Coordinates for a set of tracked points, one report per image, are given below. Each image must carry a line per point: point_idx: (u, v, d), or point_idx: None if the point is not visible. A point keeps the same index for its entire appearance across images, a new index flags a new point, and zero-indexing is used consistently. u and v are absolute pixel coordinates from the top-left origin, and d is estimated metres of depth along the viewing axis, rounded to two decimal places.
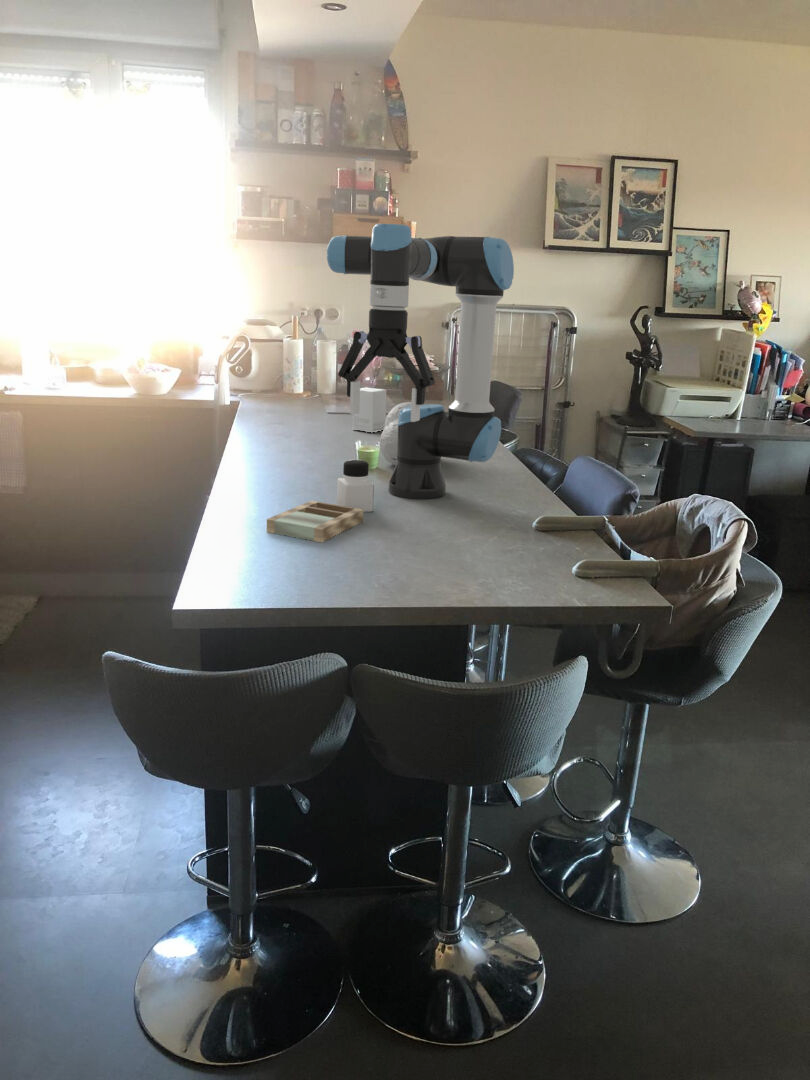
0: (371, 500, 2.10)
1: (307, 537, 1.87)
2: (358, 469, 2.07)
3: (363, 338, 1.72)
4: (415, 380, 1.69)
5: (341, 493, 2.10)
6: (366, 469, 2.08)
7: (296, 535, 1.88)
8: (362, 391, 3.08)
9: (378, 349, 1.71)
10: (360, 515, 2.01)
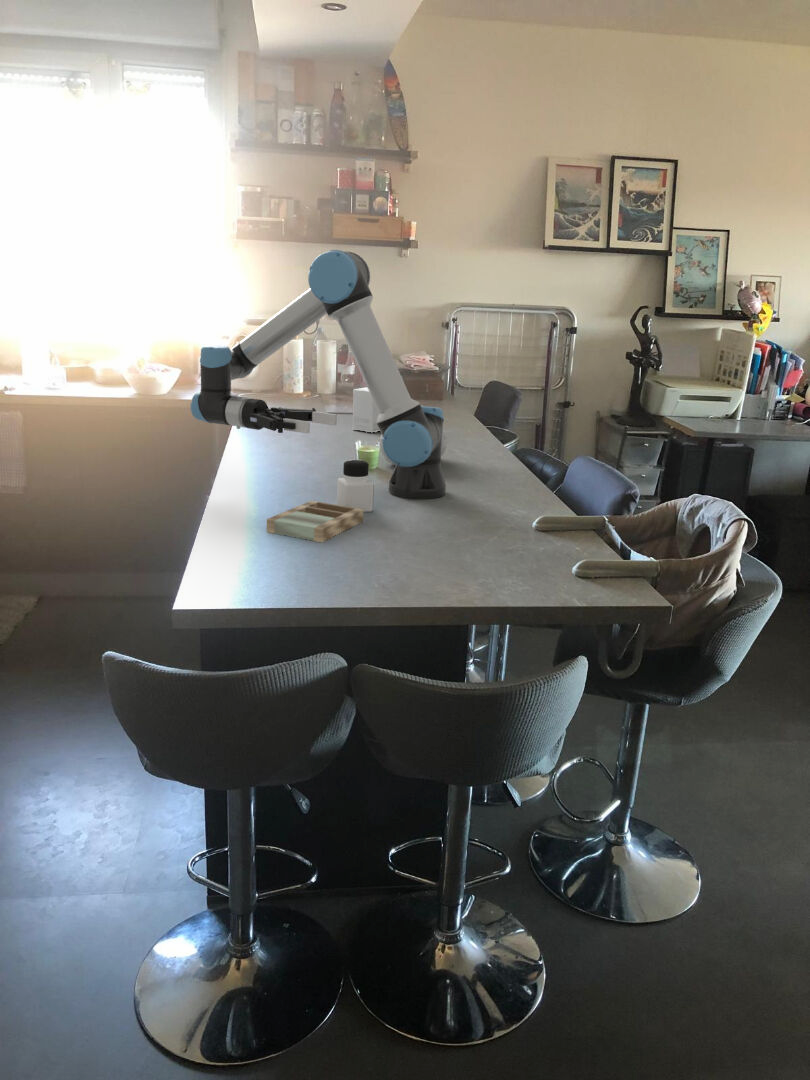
0: (371, 500, 2.10)
1: (307, 537, 1.87)
2: (358, 469, 2.07)
3: None
4: None
5: (341, 492, 2.10)
6: (366, 469, 2.08)
7: (296, 535, 1.88)
8: (362, 391, 3.08)
9: None
10: (360, 515, 2.01)
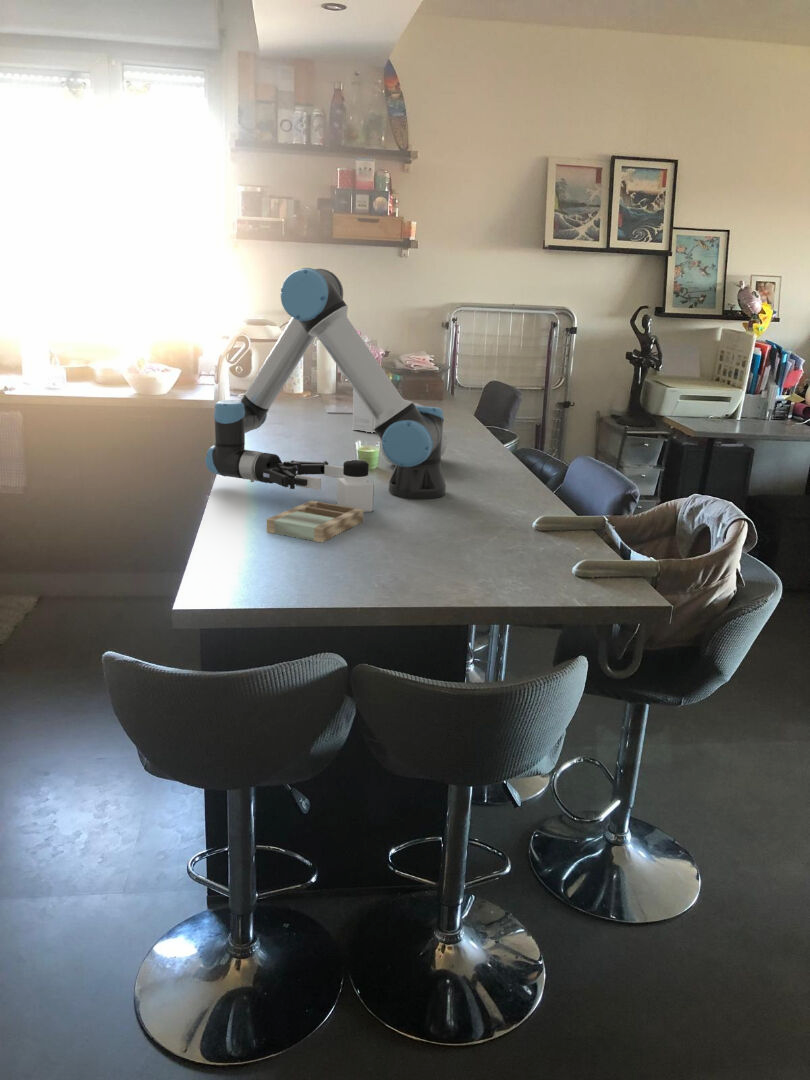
0: (371, 500, 2.10)
1: (307, 537, 1.87)
2: (358, 469, 2.07)
3: None
4: None
5: (341, 492, 2.10)
6: (366, 469, 2.08)
7: (296, 535, 1.88)
8: None
9: None
10: (360, 515, 2.01)
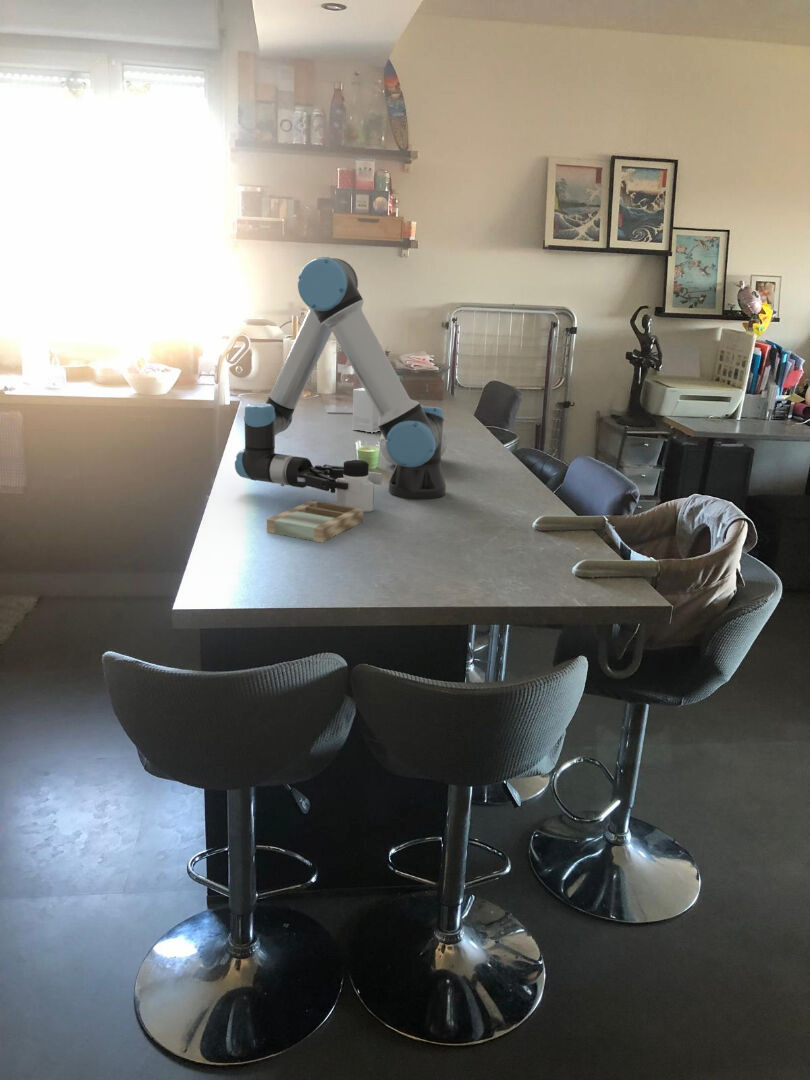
0: (371, 500, 2.10)
1: (307, 537, 1.87)
2: (358, 469, 2.07)
3: None
4: None
5: (341, 492, 2.10)
6: (366, 469, 2.08)
7: (296, 535, 1.88)
8: (362, 391, 3.08)
9: None
10: (360, 515, 2.01)
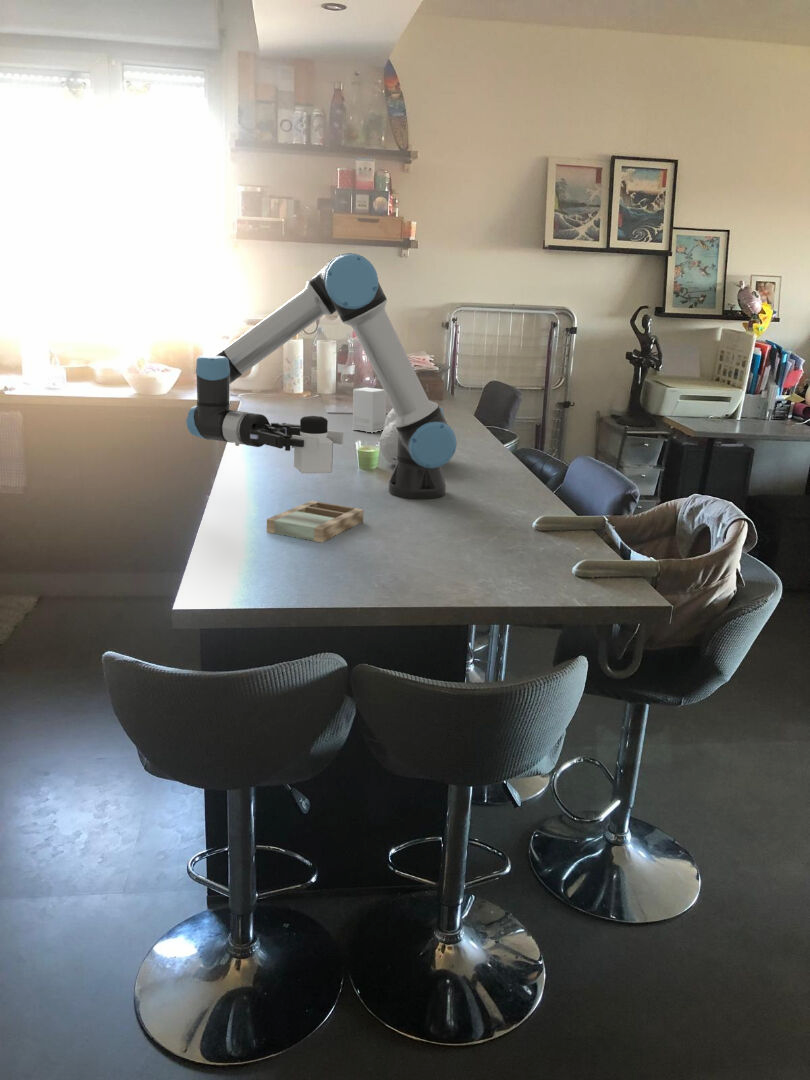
0: (330, 460, 1.93)
1: (307, 537, 1.87)
2: (315, 425, 1.90)
3: None
4: None
5: (298, 451, 1.93)
6: (324, 425, 1.91)
7: (296, 535, 1.88)
8: (362, 391, 3.08)
9: None
10: (360, 515, 2.01)
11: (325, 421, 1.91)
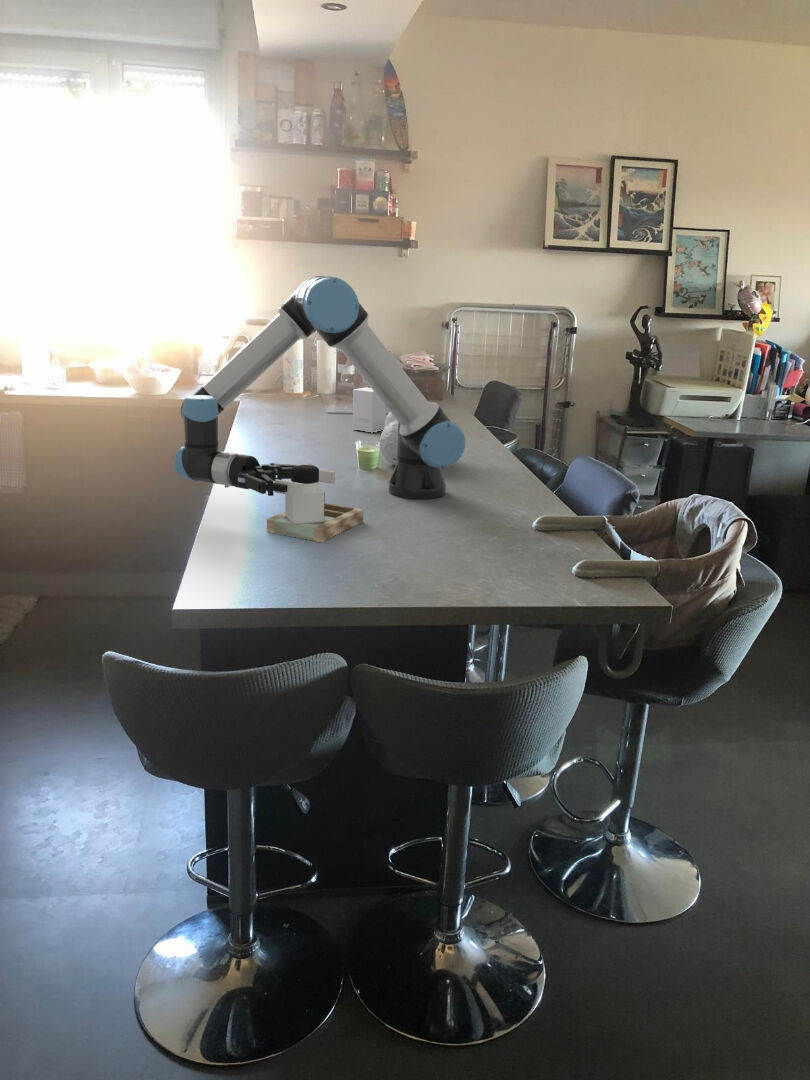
0: (322, 509, 1.89)
1: (307, 537, 1.87)
2: (307, 475, 1.86)
3: None
4: None
5: (289, 501, 1.89)
6: (316, 475, 1.87)
7: (296, 535, 1.88)
8: (362, 391, 3.08)
9: None
10: (360, 515, 2.01)
11: (316, 470, 1.87)
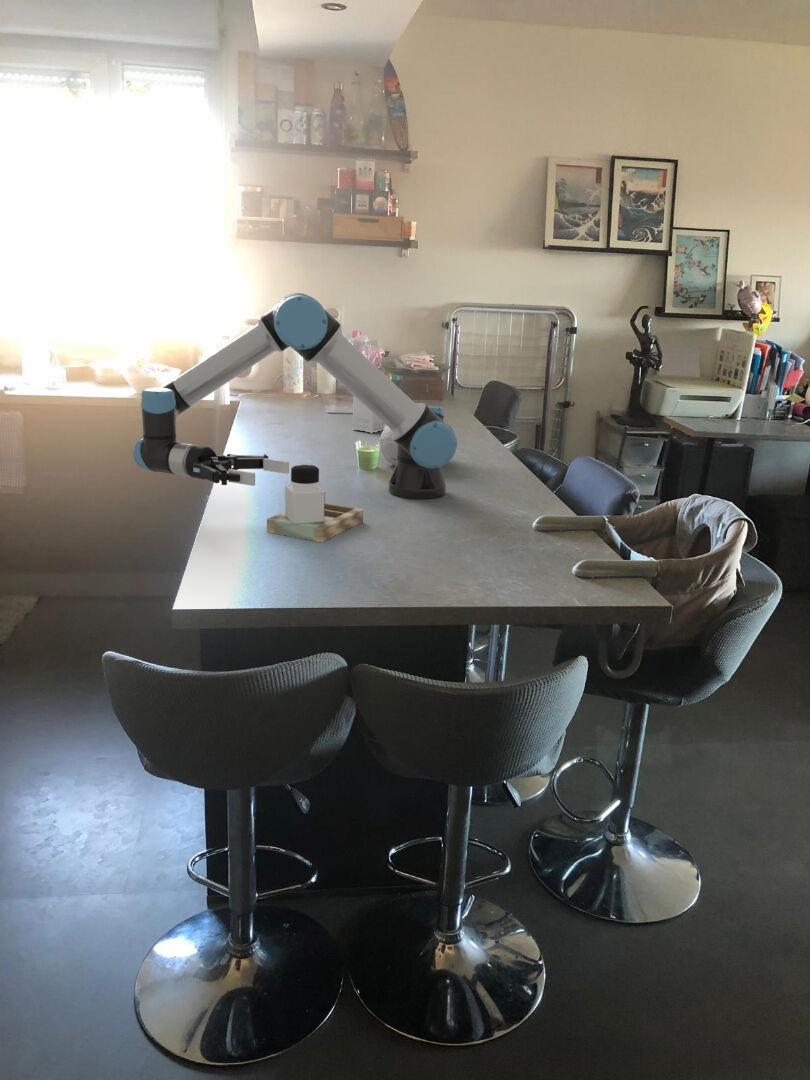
0: (322, 509, 1.89)
1: (307, 537, 1.87)
2: (307, 475, 1.86)
3: None
4: None
5: (289, 501, 1.89)
6: (316, 475, 1.87)
7: (296, 535, 1.88)
8: None
9: None
10: (360, 515, 2.01)
11: (316, 470, 1.87)
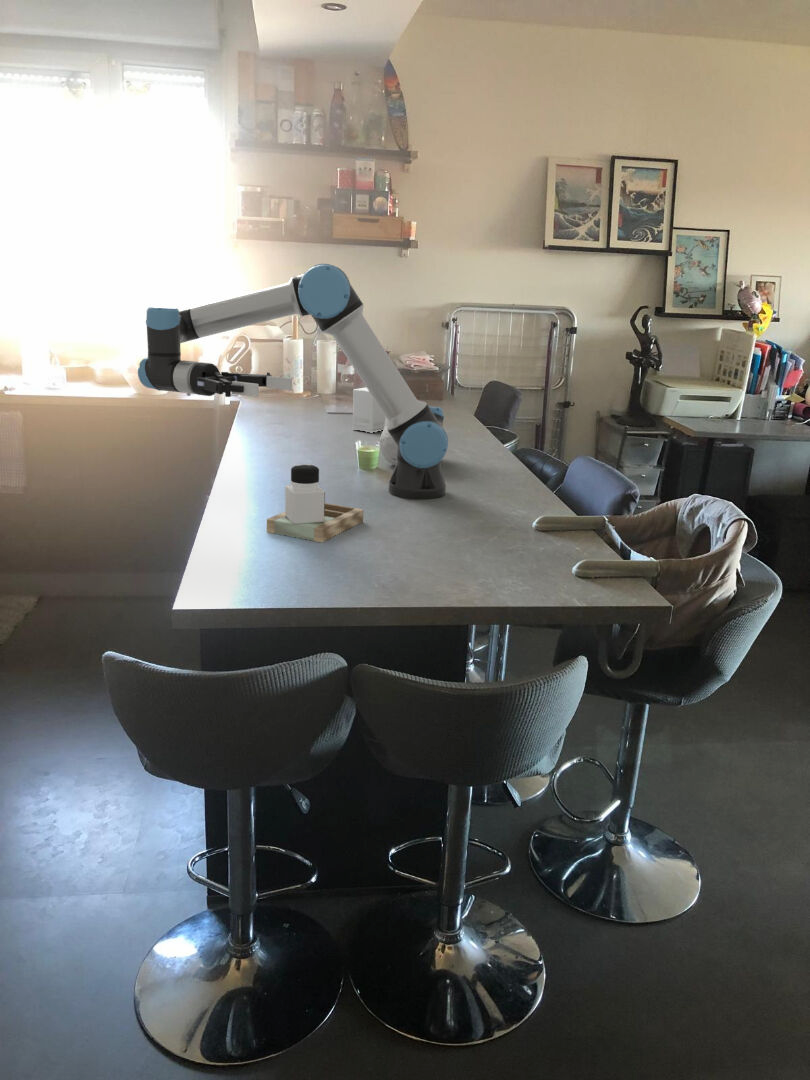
0: (322, 509, 1.89)
1: (307, 537, 1.87)
2: (307, 475, 1.86)
3: None
4: None
5: (289, 501, 1.89)
6: (316, 475, 1.87)
7: (296, 535, 1.88)
8: (362, 391, 3.08)
9: None
10: (360, 515, 2.01)
11: (316, 470, 1.87)
